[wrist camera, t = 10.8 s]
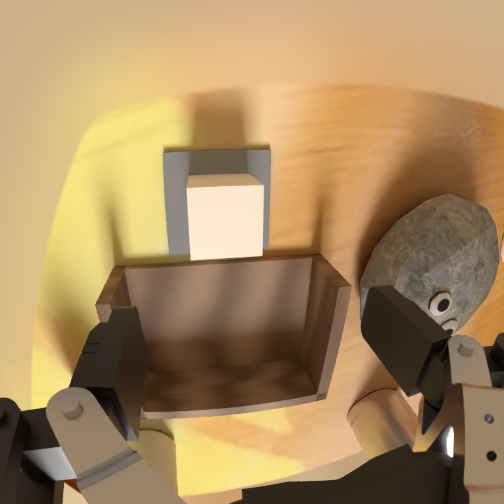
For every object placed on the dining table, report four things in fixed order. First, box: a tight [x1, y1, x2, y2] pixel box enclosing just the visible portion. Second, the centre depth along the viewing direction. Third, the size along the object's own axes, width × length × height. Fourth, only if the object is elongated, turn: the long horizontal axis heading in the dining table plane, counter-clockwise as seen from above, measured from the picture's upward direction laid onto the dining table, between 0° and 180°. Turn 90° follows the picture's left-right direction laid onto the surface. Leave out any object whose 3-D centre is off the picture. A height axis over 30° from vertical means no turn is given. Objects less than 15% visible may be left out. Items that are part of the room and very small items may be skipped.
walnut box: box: [95, 254, 352, 419], centre depth 27 cm, size 20×14×7 cm
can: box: [127, 430, 178, 495], centre depth 31 cm, size 8×8×12 cm
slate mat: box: [163, 150, 271, 255], centre depth 25 cm, size 9×9×1 cm
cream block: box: [187, 173, 264, 260], centre depth 23 cm, size 5×5×6 cm
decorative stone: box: [360, 193, 499, 335], centre depth 28 cm, size 18×21×10 cm
